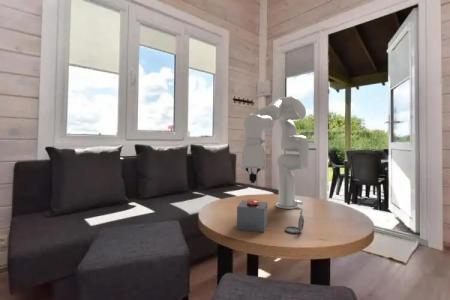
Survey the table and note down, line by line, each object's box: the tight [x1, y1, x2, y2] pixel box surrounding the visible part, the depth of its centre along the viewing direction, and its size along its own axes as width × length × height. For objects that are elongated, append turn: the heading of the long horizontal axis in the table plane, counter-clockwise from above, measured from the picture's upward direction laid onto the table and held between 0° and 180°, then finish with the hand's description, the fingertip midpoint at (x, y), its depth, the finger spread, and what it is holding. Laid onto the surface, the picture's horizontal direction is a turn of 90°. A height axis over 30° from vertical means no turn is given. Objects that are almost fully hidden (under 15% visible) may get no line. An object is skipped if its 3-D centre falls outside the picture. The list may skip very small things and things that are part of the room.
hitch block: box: [236, 199, 268, 234], centre depth 115 cm, size 12×12×10 cm
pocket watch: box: [284, 209, 305, 234], centre depth 109 cm, size 8×8×10 cm
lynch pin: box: [246, 199, 260, 206], centre depth 115 cm, size 6×6×12 cm
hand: (252, 182), depth 114 cm, fingers closed
